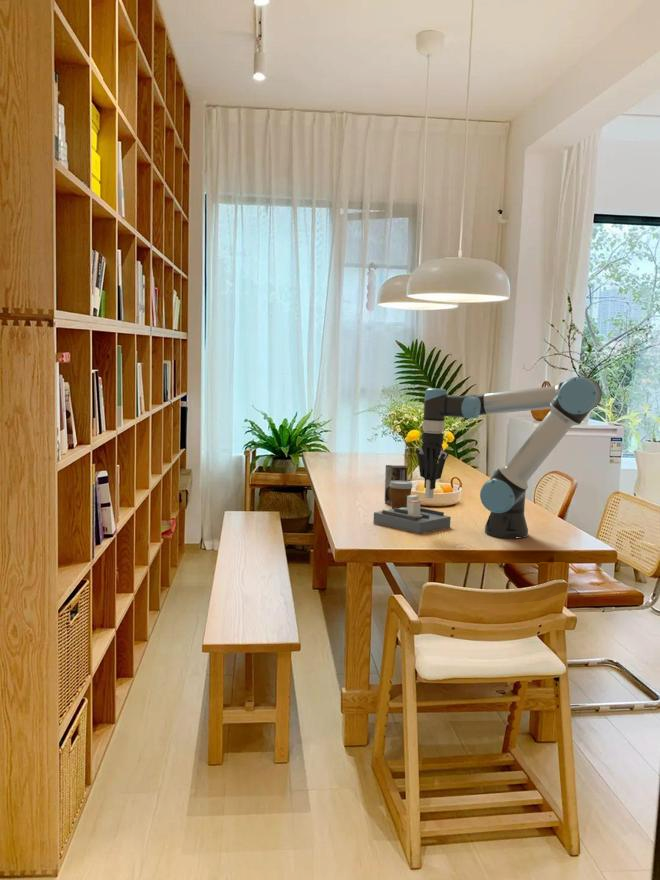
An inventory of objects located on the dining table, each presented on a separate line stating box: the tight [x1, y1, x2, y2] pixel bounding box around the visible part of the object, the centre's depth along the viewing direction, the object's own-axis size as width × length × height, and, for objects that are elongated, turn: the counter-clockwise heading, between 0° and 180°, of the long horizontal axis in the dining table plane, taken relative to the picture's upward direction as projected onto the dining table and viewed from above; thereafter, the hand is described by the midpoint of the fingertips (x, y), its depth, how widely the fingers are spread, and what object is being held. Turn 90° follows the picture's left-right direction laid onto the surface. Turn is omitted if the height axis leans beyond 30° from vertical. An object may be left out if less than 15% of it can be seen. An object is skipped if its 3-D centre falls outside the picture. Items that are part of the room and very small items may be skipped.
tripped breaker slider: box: [408, 500, 422, 518], centre depth 275 cm, size 4×5×6 cm
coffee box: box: [383, 464, 408, 505], centre depth 324 cm, size 9×6×16 cm
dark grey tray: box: [372, 494, 451, 534], centre depth 281 cm, size 22×18×10 cm
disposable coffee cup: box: [389, 480, 414, 509], centre depth 307 cm, size 10×10×12 cm
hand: (429, 497), depth 270 cm, fingers closed
